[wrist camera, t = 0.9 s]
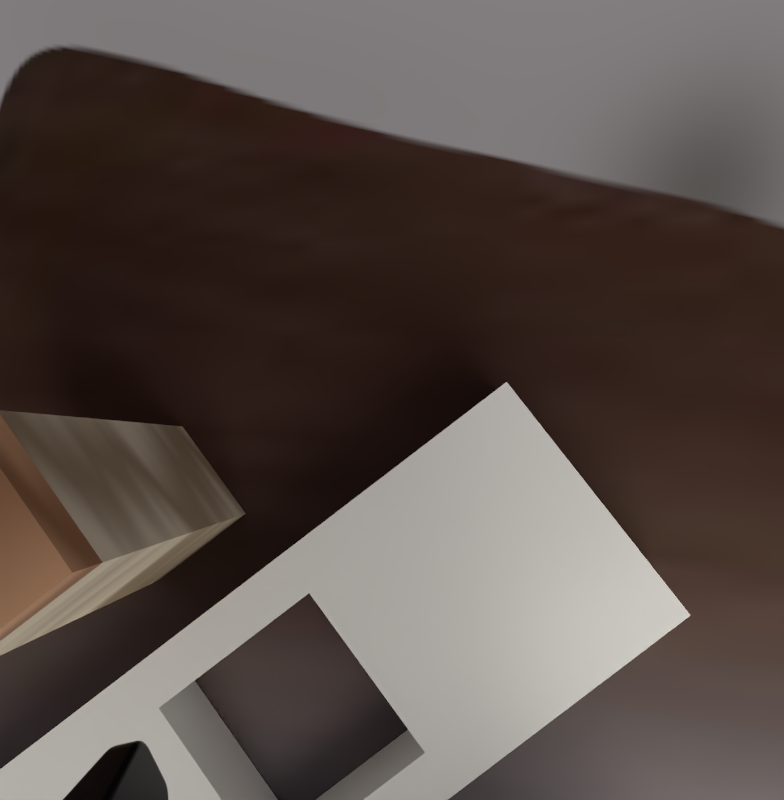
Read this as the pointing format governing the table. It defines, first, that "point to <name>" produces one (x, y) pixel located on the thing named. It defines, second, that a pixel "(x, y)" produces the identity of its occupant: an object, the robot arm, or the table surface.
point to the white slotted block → (406, 623)
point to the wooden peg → (96, 515)
